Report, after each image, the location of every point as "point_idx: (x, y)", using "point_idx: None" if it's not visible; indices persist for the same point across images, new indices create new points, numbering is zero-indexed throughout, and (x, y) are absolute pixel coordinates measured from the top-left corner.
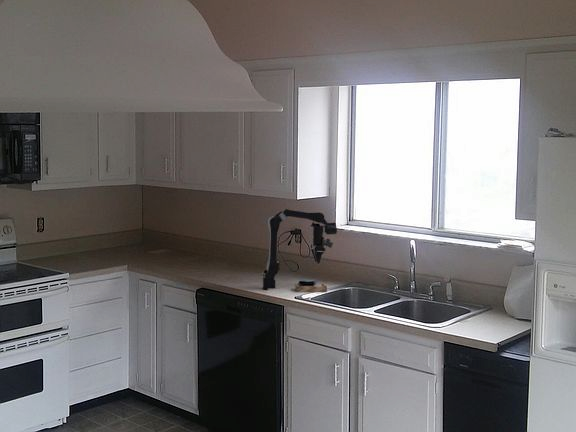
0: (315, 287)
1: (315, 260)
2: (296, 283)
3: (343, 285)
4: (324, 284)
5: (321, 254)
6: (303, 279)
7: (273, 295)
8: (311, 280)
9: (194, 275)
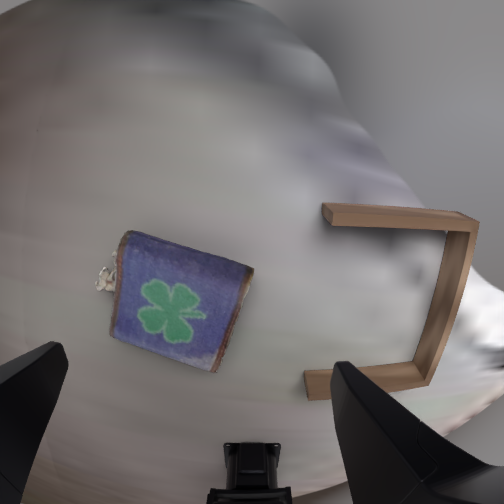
0: (458, 294)
1: (61, 371)
2: (318, 395)
3: (163, 17)
4: (403, 217)
5: (481, 469)
6: (119, 331)
7: (440, 430)
8: (154, 283)
9: (54, 497)
